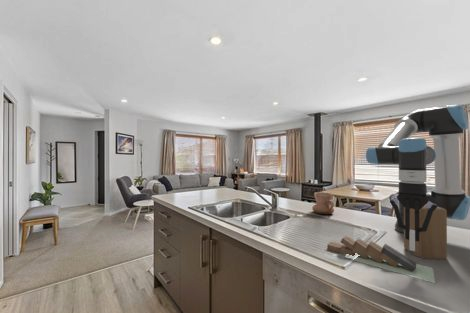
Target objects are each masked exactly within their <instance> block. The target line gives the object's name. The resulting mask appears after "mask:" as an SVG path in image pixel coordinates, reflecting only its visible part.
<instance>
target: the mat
mask: <svg viewBox="0 0 470 313" xmlns="http://www.w3.org/2000/svg"><path fill="white" fill-rule="evenodd" d="M353 261H354V262H358V263H362V264H367V265H369V266H373V267H376V268H380V269H384V270H387V271H391V272H395V273H398V274H401V275H404V276H407V277H412V278H416V279H419V280H422V281H426V282H430V283H433V284H436V280H435V273H434V268H433V267H429V266H426V265H422V264H417V263H416V269H415V270H414V271H413V272H411V271H410V270H408V269H407V268H405V267H404V266H402V265H400V264H398V265H397V266H396V268H395V267H394V266H392V265H391V264H389V263H388V262H386V261H385V260H383V261H382V262H381V263H379V262H377V261H376V260H374V259H373V258H371V257H370V256H368V257H367V258H366V259H364V258H363V257H361V256H358V257H357V258H356V259H354V260H353Z"/></svg>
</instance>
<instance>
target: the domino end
mask: <svg viewBox="0 0 470 313" xmlns="http://www.w3.org/2000/svg"><path fill="white" fill-rule="evenodd" d="M327 250H329V251H332V252H337V253H340V254H342V255H343V254H344V255H346V254H349V255H352V256H354V255H355V253H356V252H354V251H353V250H351V249H350V248H348V247H347V246H345V245H344V244H342V243H341V242H336V241H332V240H331V241H330V242H328V244H327Z"/></svg>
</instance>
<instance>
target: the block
mask: <svg viewBox="0 0 470 313" xmlns="http://www.w3.org/2000/svg"><path fill="white" fill-rule="evenodd" d="M427 205H428V204H425V205H424V206H423V207H422V208H421V209H419V227H422V225H423V222H424V219H425V216H426V213H427V210H428V208H427ZM447 223H448V218H447V211H446V209H444V208H440V207H437V208H436V209H435V210H434V211H433V213H432V216H431V219H430V222H429V225H428V228H427V231H426V232H424V231H423V232H420V233H419V242H418V241H415V251H411V250H409V240H408V239H406V238H405V229H404V233H403V248H404V250H407V251H408V252H410V253H411V254H413V255H415V256H416V257H418V258H420V259H428V260H429V259H431V260H447V259H448V253H447V251H448V243H447V242H448V238H447V237H448V234H447V233H448V232H447V231H448V226H447V225H448V224H447ZM404 225H405V207H404ZM410 230H415V209H410Z"/></svg>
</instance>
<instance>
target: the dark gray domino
mask: <svg viewBox="0 0 470 313" xmlns="http://www.w3.org/2000/svg"><path fill="white" fill-rule="evenodd" d="M381 247H382V250H381V252H382V253H383V254H385V255H386V256H388V257H390V258H391V259H393V260H394V261H396V262H397V263H399V264H400V265H402V266H404V267H405V268H407V269H408V270H410V271H411V272H413V271H414V270H415V269H416V264H417V262H416V261H415V260H413V259H411V258H410V257H408V256H406V255H404V254H403V253H402V252H400V251H398V250H396V249H395V248H393V247H392V246H390V245H388V244H387V243H384V244H383V246H381Z"/></svg>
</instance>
